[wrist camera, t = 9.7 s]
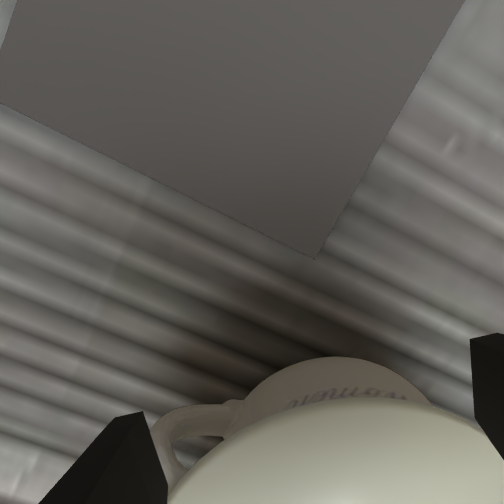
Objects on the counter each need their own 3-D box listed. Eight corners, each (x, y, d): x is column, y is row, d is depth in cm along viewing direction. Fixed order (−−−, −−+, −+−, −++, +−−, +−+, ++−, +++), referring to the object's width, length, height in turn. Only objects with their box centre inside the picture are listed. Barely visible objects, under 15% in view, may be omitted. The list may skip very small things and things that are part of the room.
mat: (-9, 96, 16) (-15, 95, 16) (141, -348, 13) (138, -363, 12) (312, 257, 19) (314, 259, 18) (505, -78, 15) (512, -83, 15)
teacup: (457, 403, 21) (586, 552, 14) (324, 531, 23) (371, 724, 16) (257, 248, 18) (278, 328, 11) (122, 410, 20) (58, 575, 13)
